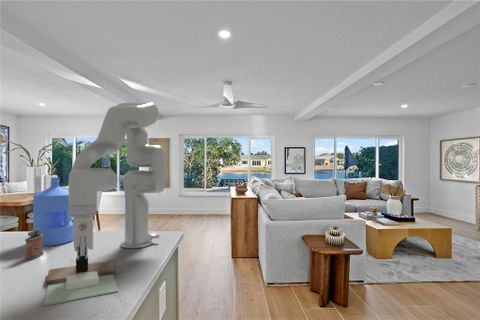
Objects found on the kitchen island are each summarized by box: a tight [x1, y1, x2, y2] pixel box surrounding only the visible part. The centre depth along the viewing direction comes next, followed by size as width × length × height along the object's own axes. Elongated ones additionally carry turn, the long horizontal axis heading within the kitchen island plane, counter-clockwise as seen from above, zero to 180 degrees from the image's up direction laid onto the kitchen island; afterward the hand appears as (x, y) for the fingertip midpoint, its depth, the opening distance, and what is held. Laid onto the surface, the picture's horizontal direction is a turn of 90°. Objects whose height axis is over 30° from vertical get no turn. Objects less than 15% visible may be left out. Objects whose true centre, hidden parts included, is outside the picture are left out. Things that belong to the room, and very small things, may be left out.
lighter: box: [25, 229, 44, 262], centre depth 109 cm, size 8×3×10 cm, turn 5°
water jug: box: [32, 177, 73, 247], centre depth 130 cm, size 16×16×28 cm
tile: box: [66, 271, 99, 290], centre depth 85 cm, size 8×6×2 cm
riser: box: [45, 260, 116, 287], centre depth 92 cm, size 18×10×2 cm, turn 119°
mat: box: [43, 274, 119, 307], centre depth 82 cm, size 17×13×1 cm
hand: (81, 271), depth 89 cm, fingers closed
